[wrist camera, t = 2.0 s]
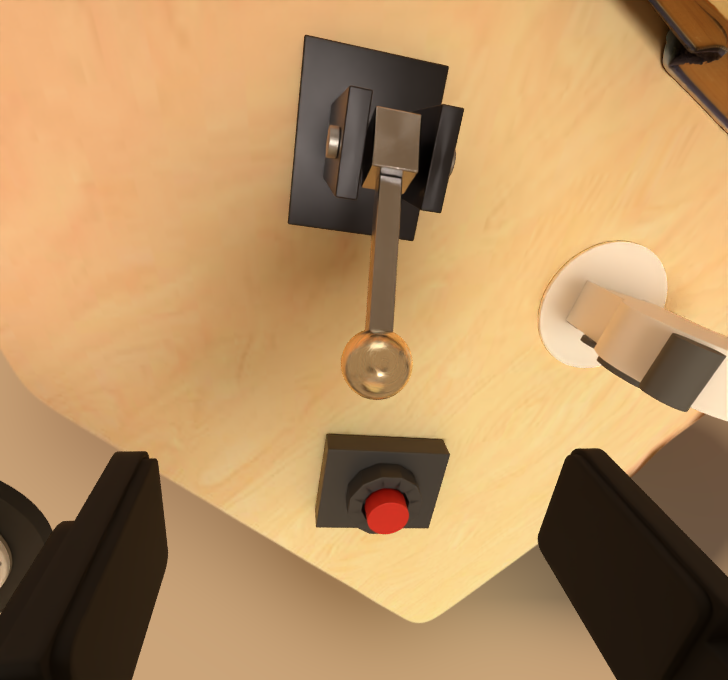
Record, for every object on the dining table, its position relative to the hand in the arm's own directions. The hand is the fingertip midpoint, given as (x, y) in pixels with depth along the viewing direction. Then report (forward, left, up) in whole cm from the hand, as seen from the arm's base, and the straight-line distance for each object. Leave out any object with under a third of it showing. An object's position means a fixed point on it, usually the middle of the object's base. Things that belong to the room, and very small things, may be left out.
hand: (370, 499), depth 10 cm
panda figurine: (+24, -2, -25) cm, 35 cm away
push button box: (+8, -21, -25) cm, 33 cm away
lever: (+2, +2, -13) cm, 14 cm away
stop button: (+8, -21, -21) cm, 31 cm away
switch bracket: (+2, +7, -25) cm, 26 cm away
